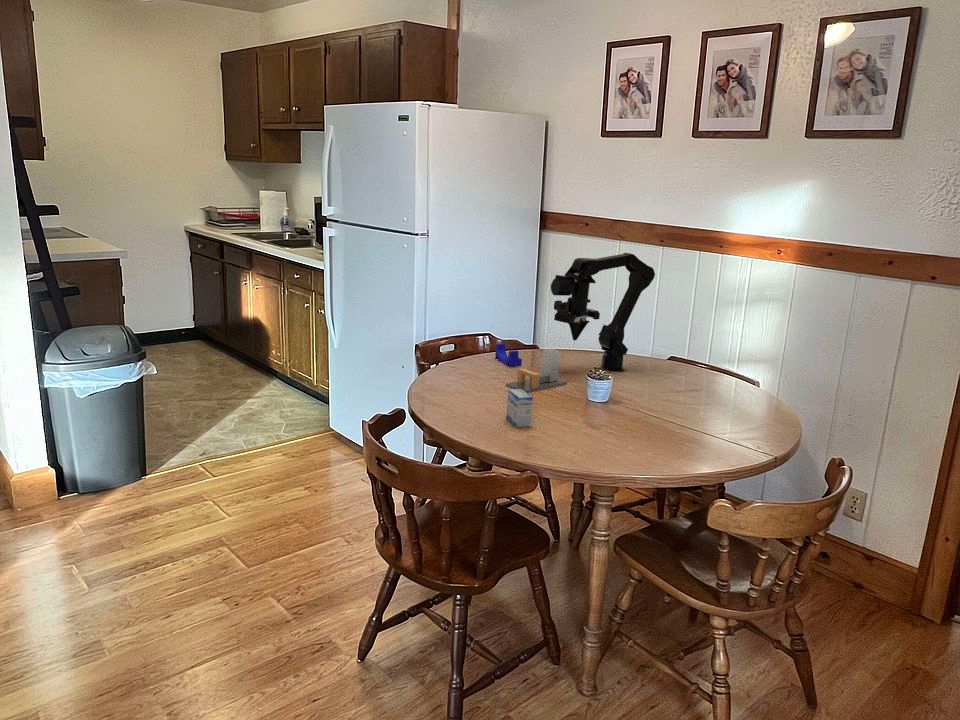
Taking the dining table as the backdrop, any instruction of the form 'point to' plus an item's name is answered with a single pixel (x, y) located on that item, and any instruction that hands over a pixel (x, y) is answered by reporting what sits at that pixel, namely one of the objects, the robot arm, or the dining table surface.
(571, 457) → the dining table surface
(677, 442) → the dining table surface
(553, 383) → the grey flat plate
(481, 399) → the dining table surface
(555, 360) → the latch
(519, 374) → the lug
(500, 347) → the cable clip
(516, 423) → the medicine box
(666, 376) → the dining table surface
